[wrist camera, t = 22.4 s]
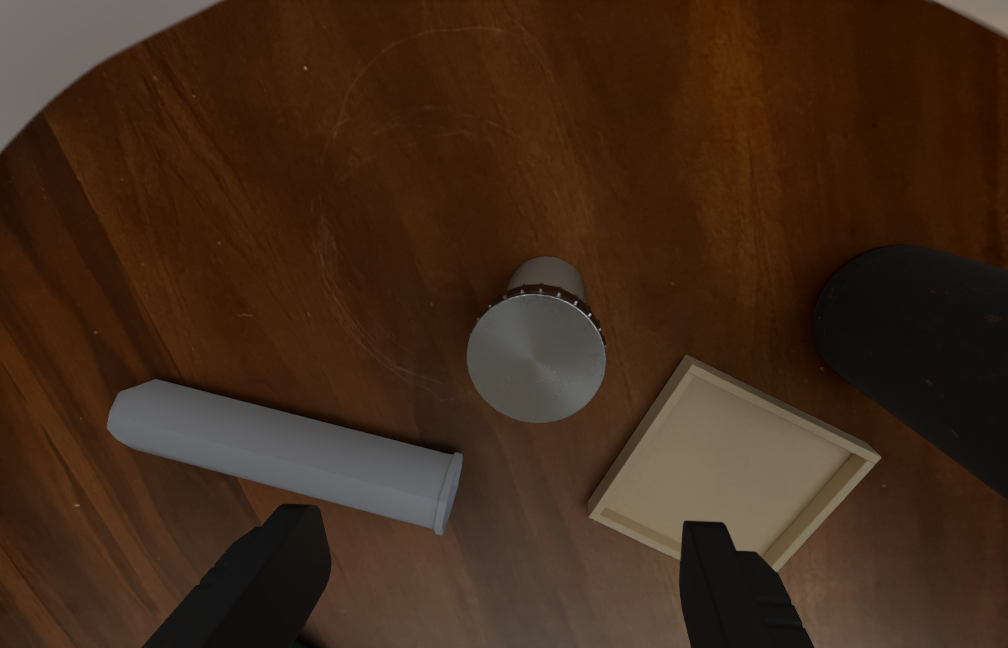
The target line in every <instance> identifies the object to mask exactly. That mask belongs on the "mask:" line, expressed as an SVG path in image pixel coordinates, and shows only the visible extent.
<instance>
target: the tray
mask: <svg viewBox="0 0 1008 648" xmlns="http://www.w3.org/2000/svg"><path fill="white" fill-rule="evenodd" d="M880 459H881V456H880V455H879V454H878V453H877V452H876V451H875V450H874V449H873V448H871V447H870V446H869V445H868V444H867V443H866V442H864V441H862V440H860V439H858V438H856V437H854V436H852V435H850V434H848V433H846V432H844V431H842V430H840V429H838V428H836V427H834V426H832V425H830V424H827V423H825V422H823V421H821V420H819V419H817V418H815V417H813V416H811V415H809V414H807V413H805V412H803V411H801V410H799V409H797V408H795V407H793V406H791V405H789V404H787V403H785V402H783V401H781V400H779V399H776V398H774V397H772V396H770V395H768V394H766V393H764V392H762V391H760V390H758V389H756V388H754V387H752V386H750V385H748V384H746V383H744V382H742V381H740V380H738V379H736V378H734V377H732V376H730V375H727V374H725V373H723V372H721V371H719V370H717V369H715V368H713V367H711V366H709V365H707V364H705V363H703V362H701V361H699V360H697V359H695V358H693V357H691V356H689V355H685V356H684V358H683V359H682V361H681V362H680V364H679V365H678V367H677V368H676V370H675V371H674V373H673V374H672V376H671V377H670V379H669V380H668V382H667V383H666V385H665V386H664V388H663V389H662V391H661V392H660V394H659V395H658V397H657V398H656V400H655V401H654V403H653V404H652V406H651V407H650V409H649V410H648V412H647V413H646V415H645V416H644V418H643V419H642V421H641V422H640V424H639V425H638V427H637V428H636V430H635V431H634V433H633V434H632V436H631V437H630V439H629V440H628V442H627V443H626V445H625V446H624V448H623V449H622V451H621V452H620V454H619V455H618V457H617V458H616V460H615V461H614V463H613V464H612V466H611V467H610V469H609V470H608V472H607V473H606V475H605V476H604V478H603V479H602V481H601V482H600V484H599V485H598V487H597V488H596V490H595V491H594V493H593V494H592V496H591V497H590V499H589V500H588V514H589V518H591V519H593V520H595V521H597V522H600V523H602V524H604V525H606V526H608V527H610V528H612V529H614V530H616V531H618V532H621V533H623V534H625V535H627V536H629V537H631V538H633V539H635V540H637V541H639V542H641V543H644V544H646V545H648V546H650V547H652V548H654V549H656V550H658V551H660V552H662V553H665V554H667V555H669V556H671V557H673V558H675V559H677V560H679V561H680V560H681V544H682V529H683V523H684V521H685V520H686V521H712V522H723V523H724V524H725V525H726V527H727V529H728V531H729V534H730V536H731V539H732V541H733V543H734V546H735V548H736V551H756V552H757V553H758V554H759V555H760V556H761V557H762V558H763V559H764V560H765V561H766V562H767V563H768V564H769V565H770V566H771V567H772V568H773V569H774V570H775V571H776V572H778V570H779V569H780V568H781V567H782V566H783V565H784V564H785V563H786V562H787V561H788V560H789V558H790V557H791V556H792V555H793V554H794V553H795V552H796V551H797V550H798V549H799V547H800V546H801V545H802V544H803V543H804V542H805V541H806V540H807V539H808V538H809V537H810V535H811V534H812V533H813V532H814V531H815V530H816V529H817V528H818V527H819V526H820V524H821V523H822V522H823V521H824V520H825V519H826V518H827V517H828V516H829V515H830V514H831V512H832V511H833V510H834V509H835V508H836V507H837V506H838V505H839V504H840V503H841V501H842V500H843V499H844V498H845V497H846V496H847V495H848V494H849V493H850V492H851V491H852V489H853V488H854V487H855V486H856V485H857V484H858V483H859V482H860V481H861V480H862V478H863V477H864V476H865V475H866V474H867V473H868V472H869V471H870V470H871V469H872V467H873V466H874V465H875V464H876V463H877V462H878V461H879V460H880Z"/></svg>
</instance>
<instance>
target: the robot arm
mask: <svg viewBox="0 0 1008 648" xmlns="http://www.w3.org/2000/svg"><path fill="white" fill-rule="evenodd" d="M330 572H331V555H330V550H329V546H328V542H327V537H326V533H325V529H324V524H323V520H322V516H321V512H320V509H319V508H318V506H316V505H304V504H282V505H280V506H279V507H278V508H277V509H276V510H275V511H274V512H273V513H272V515H271V516H270V517H269V518H268V519H267V521H266V522H265V523H264V524H263V525H262V527H255V528H254V529H252V530H251V531H250V532H248V533H247V534H245V535H244V536H243V537H241V538H240V539H238V540H237V541H236V542H234V543H233V544H232V545H231V546H230V547H229V548H228V550H227V551H226V552H225V553H224V554H223V555H222V556H221V558H220V559H219V560H218V561H217V562H216V563H215V567H214V568H211V569H210V570H209V571H208V572H207V574H206V575H205V576H204V577H203V578H202V579H201V580H200V584H199V585H196V586H195V587H194V588H193V590H192V591H191V592H190V593H189V594H188V595H187V596H186V598H185V599H184V600H183V601H182V602H181V603H180V604H179V606H178V607H177V608H176V609H175V610H174V611H173V612H172V614H171V615H170V616H169V617H168V618H167V619H166V620H165V621H164V623H163V624H162V625H161V626H160V627H159V628H158V629H157V631H156V632H155V633H154V634H153V635H152V636H151V637H150V639H149V640H148V641H147V642H146V643H145V644H144V645H143V647H142V648H291V647H292V645H293V644H294V642H295V640H296V638H297V637H298V635H299V633H300V631H301V630H302V628H303V626H304V624H305V623H306V621H307V619H308V617H309V616H310V614H311V612H312V610H313V609H314V607H315V605H316V603H317V602H318V600H319V598H320V596H321V595H322V593H323V591H324V589H325V587H326V585H327V583H328V580H329V576H330ZM679 587H680V598H681V606H682V611H683V616H684V620H685V624H686V628H687V632H688V636H689V640H690V645H691V648H814V646H813V644H812V642H811V640H810V638H809V636H808V634H807V632H806V630H805V628H803V627H802V621H801V619H800V617H799V615H798V613H797V611H796V609H795V607H794V605H792V604H791V599H790V597H789V595H788V593H787V591H786V589H785V587H784V585H783V583H782V581H781V579H780V577H779V575H778V573H777V572H776V571H775V570H774V569H773V568H772V567H771V566H770V565H769V564H768V563H767V562H766V561H765V560H764V559H763V558H762V557H761V556H760V555H759V554H758V553H757V552H756V551H736V548H735V546H734V543H733V541H732V539H731V536H730V534H729V531H728V529H727V527H726V525H725V524H724V523H723V522H712V521H686V520H685V521H684V523H683V529H682V544H681V560H680V575H679Z"/></svg>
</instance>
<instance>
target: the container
mask: <svg viewBox="0 0 1008 648" xmlns="http://www.w3.org/2000/svg"><path fill="white" fill-rule="evenodd" d="M813 336H814V341H815V345H816V347H817V349H818V352H819V353H820V355H821V357H822V358H823V360H824V361H825V362H826V363H827V364H828V365H829V366H830V367H831V368H832V369H833V370H834V371H835V372H837V373H838V374H839V375H840V376H841V377H843V378H844V379H845V380H846V381H848V382H849V383H850V384H852V385H853V386H854V387H856V388H857V389H858V390H860V391H861V392H862V393H864V394H865V395H867V396H868V397H870V398H871V399H872V400H874V401H875V402H876V403H878V404H879V405H880V406H882V407H883V408H884V409H886V410H887V411H888V412H890V413H891V414H892V415H894V416H895V417H896V418H898V419H899V420H900V421H902V422H903V423H904V424H906V425H907V426H908V427H910V428H911V429H913V430H914V431H915V432H917V433H918V434H919V435H921V436H922V437H923V438H925V439H926V440H928V441H929V442H931V443H932V444H933V445H935V446H936V447H937V448H939V449H940V450H941V451H942V452H944V453H945V454H947V455H948V456H949V457H951V458H952V459H953V460H955V461H956V462H957V463H959V464H960V465H961V466H962V467H964V468H965V469H966V470H968V471H969V472H970V473H972V474H973V475H974V476H976V477H977V478H978V479H980V480H981V481H982V482H984V483H985V484H986V485H988V486H989V487H990V488H992V489H993V490H994V491H996V492H997V493H998V494H1000V495H1001V496H1002V497H1004V498H1005V499H1006V500H1007V501H1008V270H1005V269H1001V268H998V267H994V266H990V265H988V264H983V263H980V262H976V261H973V260H970V259H966V258H963V257H959V256H956V255H953V254H950V253H946V252H941V251H937V250H933V249H928V248H924V247H919V246H913V245H895V246H888V247H883V248H879V249H875V250H872V251H870V252H867V253H865V254H863V255H861V256H859V257H857V258H855V259H854V260H852V261H851V262H849V263H848V264H847V265H845V266H844V267H843V268H842V269H840V270H839V271H838V272H837V273H836V274H835V275H834V276H833V277H832V279H831V280H830V281H829V282H828V284H827V285H826V286H825V288H824V290H823V291H822V293H821V295H820V297H819V299H818V301H817V304H816V307H815V311H814V316H813Z"/></svg>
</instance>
